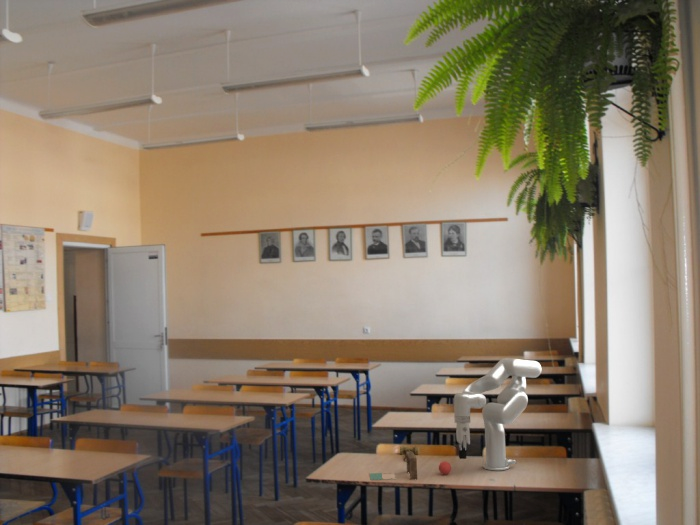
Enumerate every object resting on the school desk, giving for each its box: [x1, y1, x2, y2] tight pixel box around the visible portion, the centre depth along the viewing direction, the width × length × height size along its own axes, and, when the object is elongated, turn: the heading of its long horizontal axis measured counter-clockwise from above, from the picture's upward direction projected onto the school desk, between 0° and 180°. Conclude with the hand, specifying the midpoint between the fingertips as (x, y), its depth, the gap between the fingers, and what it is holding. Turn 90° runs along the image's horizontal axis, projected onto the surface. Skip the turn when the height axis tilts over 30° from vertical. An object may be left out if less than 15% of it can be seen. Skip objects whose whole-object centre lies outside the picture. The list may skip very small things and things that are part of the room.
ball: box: [438, 460, 452, 475], centre depth 314 cm, size 6×6×6 cm
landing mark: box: [369, 472, 383, 481], centre depth 312 cm, size 12×12×1 cm
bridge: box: [405, 451, 418, 481], centre depth 313 cm, size 3×15×10 cm, turn 2°
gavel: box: [399, 445, 420, 462], centre depth 351 cm, size 21×5×10 cm
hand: (462, 458), depth 314 cm, fingers closed
